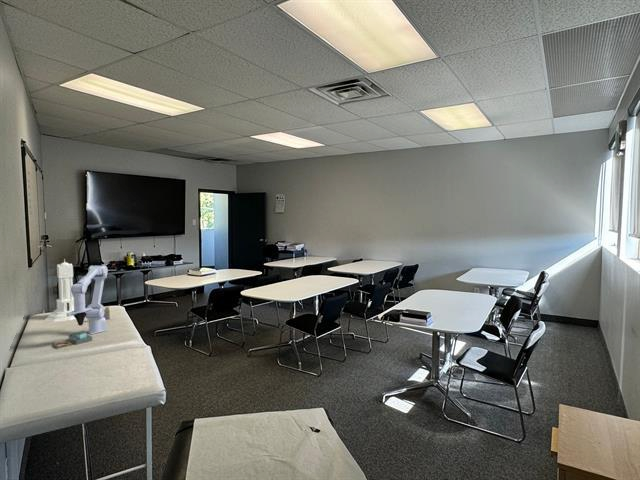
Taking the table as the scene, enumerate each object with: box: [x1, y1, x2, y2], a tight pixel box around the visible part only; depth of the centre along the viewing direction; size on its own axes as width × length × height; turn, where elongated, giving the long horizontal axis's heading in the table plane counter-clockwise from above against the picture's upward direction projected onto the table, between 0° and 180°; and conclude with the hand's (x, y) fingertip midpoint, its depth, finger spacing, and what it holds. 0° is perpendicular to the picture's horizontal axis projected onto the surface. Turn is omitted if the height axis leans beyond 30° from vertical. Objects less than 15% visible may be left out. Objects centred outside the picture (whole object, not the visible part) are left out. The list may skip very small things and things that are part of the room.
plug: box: [75, 330, 88, 339], centre depth 221 cm, size 4×4×6 cm
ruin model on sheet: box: [103, 306, 111, 321], centre depth 264 cm, size 11×3×10 cm, turn 125°
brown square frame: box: [52, 340, 73, 350], centre depth 213 cm, size 7×7×1 cm
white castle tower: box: [44, 258, 76, 323], centre depth 273 cm, size 28×28×45 cm
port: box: [67, 330, 93, 345], centre depth 222 cm, size 8×13×4 cm, turn 53°
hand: (80, 325), depth 220 cm, fingers closed
